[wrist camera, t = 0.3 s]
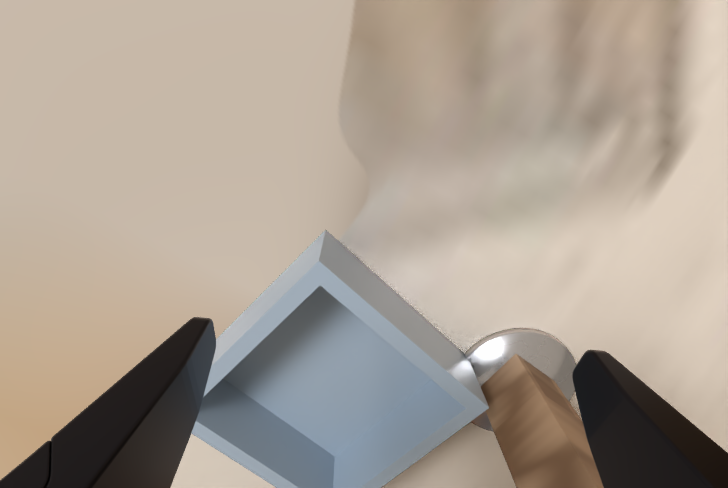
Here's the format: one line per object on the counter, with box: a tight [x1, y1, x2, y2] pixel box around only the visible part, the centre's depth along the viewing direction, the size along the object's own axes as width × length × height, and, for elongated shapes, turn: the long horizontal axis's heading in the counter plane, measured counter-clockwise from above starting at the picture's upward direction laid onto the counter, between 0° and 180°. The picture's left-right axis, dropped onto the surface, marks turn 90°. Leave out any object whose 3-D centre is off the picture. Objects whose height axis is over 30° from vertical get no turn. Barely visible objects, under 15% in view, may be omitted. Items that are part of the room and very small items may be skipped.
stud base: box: [465, 328, 576, 431], centre depth 28 cm, size 9×9×3 cm
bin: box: [192, 230, 489, 488], centre depth 27 cm, size 14×14×5 cm
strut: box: [481, 354, 604, 488], centre depth 24 cm, size 4×4×12 cm
